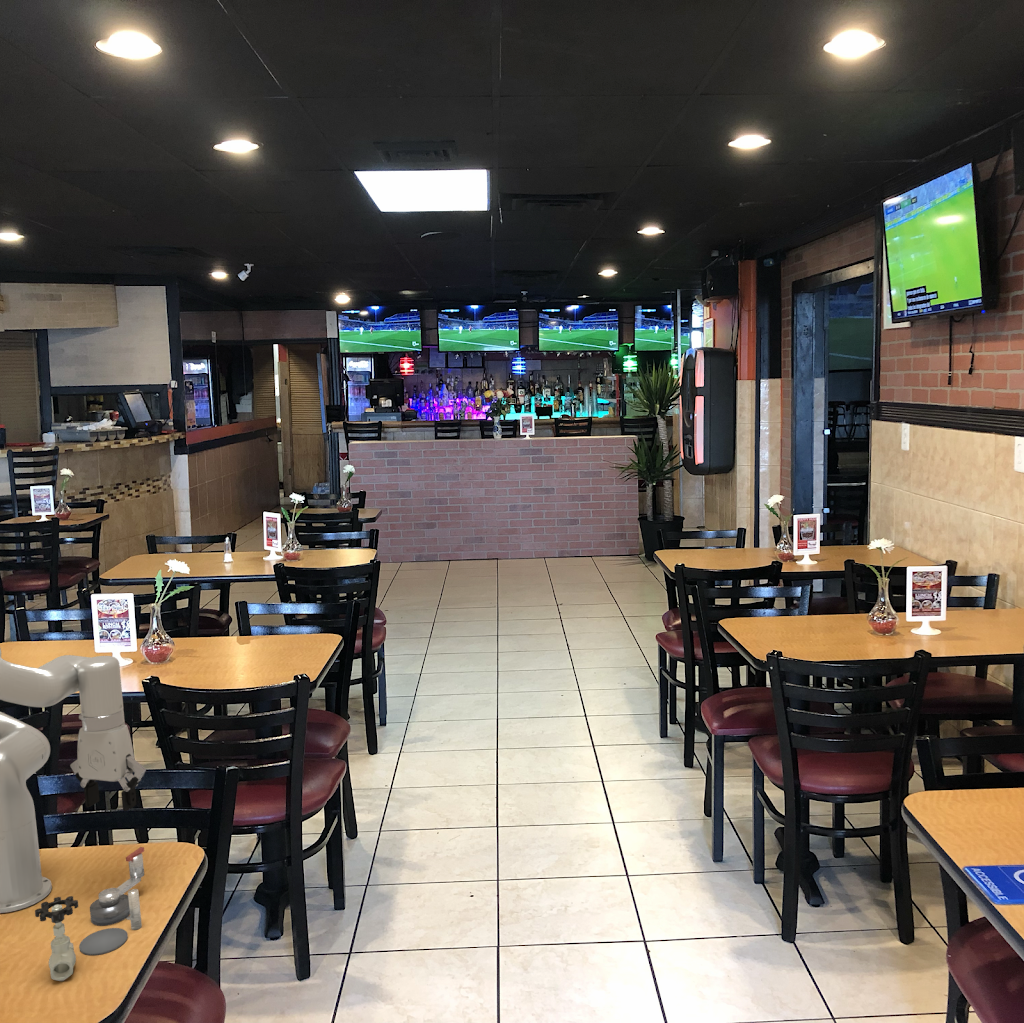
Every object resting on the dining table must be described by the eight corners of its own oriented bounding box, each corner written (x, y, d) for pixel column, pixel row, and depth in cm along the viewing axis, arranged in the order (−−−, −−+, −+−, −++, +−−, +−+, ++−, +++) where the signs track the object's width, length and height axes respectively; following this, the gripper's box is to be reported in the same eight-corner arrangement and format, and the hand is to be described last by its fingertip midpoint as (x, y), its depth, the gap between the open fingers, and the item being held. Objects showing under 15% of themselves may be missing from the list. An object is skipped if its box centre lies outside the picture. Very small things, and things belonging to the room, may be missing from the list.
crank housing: (82, 923, 174) (78, 888, 173) (108, 904, 181) (105, 869, 180) (136, 930, 171) (133, 894, 170) (161, 910, 177) (157, 875, 176)
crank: (111, 907, 174) (108, 877, 173) (95, 905, 175) (92, 875, 174) (152, 876, 185) (149, 847, 185) (137, 874, 186) (134, 846, 186)
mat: (69, 952, 165) (69, 950, 165) (100, 927, 172) (100, 925, 172) (107, 957, 162) (106, 955, 162) (137, 932, 170) (137, 930, 170)
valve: (40, 988, 154) (33, 920, 153) (43, 967, 160) (36, 901, 159) (84, 977, 157) (77, 910, 156) (85, 956, 163) (78, 892, 162)
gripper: (52, 724, 180) (60, 810, 182) (128, 729, 175) (135, 818, 177) (80, 711, 187) (88, 795, 189) (153, 716, 182) (161, 802, 184)
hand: (111, 805), depth 183 cm, fingers open, 8 cm apart
